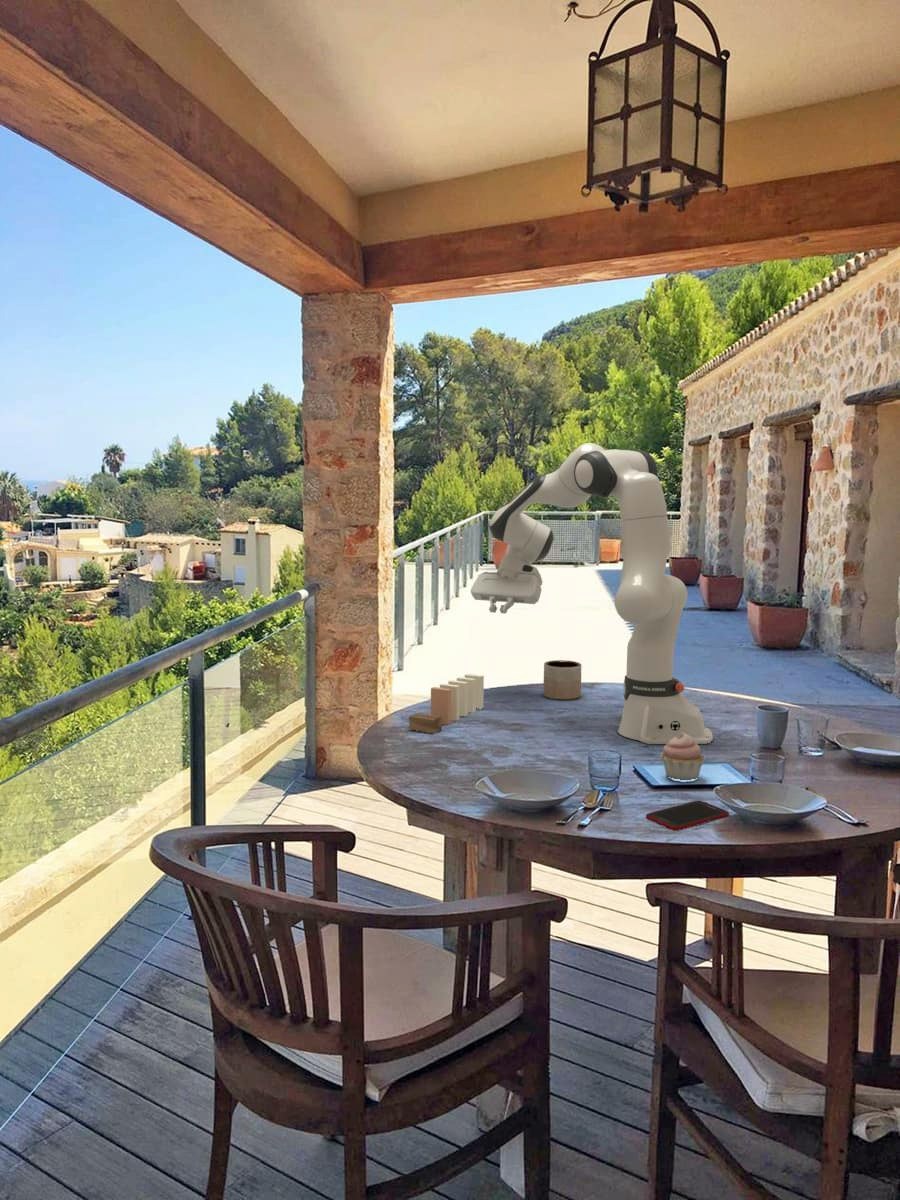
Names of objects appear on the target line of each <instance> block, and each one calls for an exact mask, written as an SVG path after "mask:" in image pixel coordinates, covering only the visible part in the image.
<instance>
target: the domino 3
mask: <svg viewBox="0 0 900 1200" xmlns="http://www.w3.org/2000/svg"><path fill="white" fill-rule="evenodd" d="M447 684H451V685H459V686H460V714H459V717H462V716H464V718H465V716H466V717H468V716H467V715H469V714H468V713H469V712H468V682H462V681H457V680H452V679H451V680H448V682H447Z"/></svg>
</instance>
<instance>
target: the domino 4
mask: <svg viewBox="0 0 900 1200" xmlns="http://www.w3.org/2000/svg"><path fill="white" fill-rule="evenodd" d="M456 681H462V682H468V713H469V712H471V713H470V714H474V713H477V709H476V679H472V678H465V676H464V677H463V676H458V677H456Z"/></svg>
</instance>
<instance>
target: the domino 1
mask: <svg viewBox="0 0 900 1200" xmlns="http://www.w3.org/2000/svg"><path fill="white" fill-rule="evenodd" d="M430 715H435V716H442V725H444V724H445V725H446V726H449V725H451V724H452V720H451V689H446V688H440V687H437V686H433V687H430Z"/></svg>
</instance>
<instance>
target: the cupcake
mask: <svg viewBox="0 0 900 1200" xmlns="http://www.w3.org/2000/svg"><path fill="white" fill-rule="evenodd" d="M662 750H663V751H661V752H660V754H661V755H659V757H660V759H661V761H662V763H663V767H664V770H665V771H664V772H665V776H666V775H667V776H668V777H670V778H674V779H680V780H691V779H696V778H699V775H700V773H701V768H702V767H703V765H704V762H705V761H706V755H703V754H702V749H701V747H700V745H699V744H696V743H695V741H694V740H693V738H692V737H691V736H689V735H687V734H685V733H684V732H681V734H680V736H679V737H674V738H672V739H671V740H670V741H669V743H668V744H664V746H663V748H662ZM667 776H666V777H667Z"/></svg>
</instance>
